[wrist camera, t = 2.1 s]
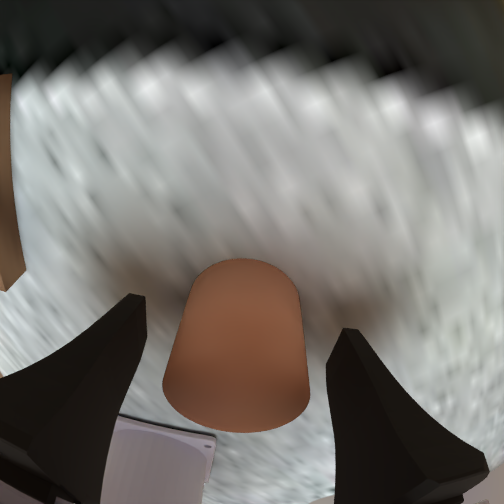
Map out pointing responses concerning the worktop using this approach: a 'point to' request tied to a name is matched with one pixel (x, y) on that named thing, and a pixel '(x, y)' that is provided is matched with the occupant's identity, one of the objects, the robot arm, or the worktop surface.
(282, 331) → the terracotta cylinder
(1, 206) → the walnut base slab
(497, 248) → the worktop surface
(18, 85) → the worktop surface
